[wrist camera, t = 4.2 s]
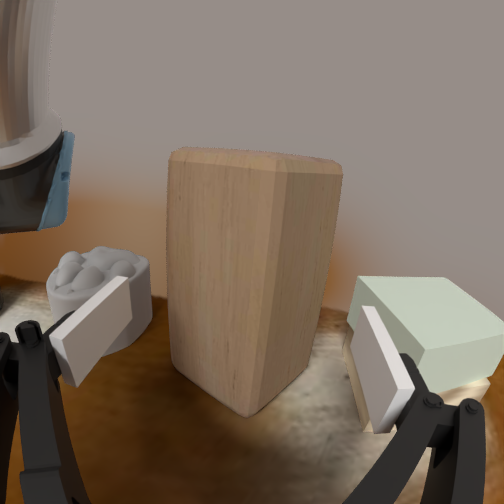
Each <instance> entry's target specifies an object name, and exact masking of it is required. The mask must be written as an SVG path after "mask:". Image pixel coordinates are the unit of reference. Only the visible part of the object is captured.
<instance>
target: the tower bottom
mask: <svg viewBox="0 0 504 504" xmlns="http://www.w3.org/2000/svg"><path fill="white" fill-rule="evenodd" d="M353 335H354V331H353V329H352V328H351V326H350V325H349V329H348V333H347V336H346V340H345V343H344V346H343V350H342V352H343V356H344V359H345V363H346V367H347V370H348V374H349V378H350V382H351V385H352V389H353V393H354V397H355V401H356V405H357V409H358V413H359V417H360V422H361V426H362V430H363V432H373V428H372V424H371V420H370V416H369V412H368V408H367V405H366V401H365V397H364V394H363V390H362V386H361V383H360V379H359V376H358V372H357V369H356V365H355V362H354V358H353V355H352V352H351V348H350V345H351V341H352V338H353ZM489 386H490V382H489V381H488V379H487V378H483V379H480V380H477V381H475V382H472V383H469V384H466V385H463V386H460V387H457V388H453V389H450V390H447V391H443V392H440V393H436V394H437V395H439V396H440V397H441V398H442V399H443V401H444V403H445V404H448V405H454V406H458V405H459V404H460V402H461V401H462V400H463V399H466V398H472V399H475V400H477V401H478V402H480V400H481V399H482V397H483V396H484V394H485V392H486V391H487V389H488V387H489ZM392 430H397V429H396V425H394V427H393V428H392Z"/></svg>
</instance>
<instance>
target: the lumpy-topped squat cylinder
mask: <svg viewBox="0 0 504 504" xmlns="http://www.w3.org/2000/svg"><path fill="white" fill-rule="evenodd" d="M116 276H122V277H128V279H129V290H130V301H131V310H132V320H131V321H130V322H129V323H128V324H127V326H126V327H125V328H124V329H123V330H122V332H121V333H120V334H119V335H118V337H117V338H116V339H115V340H114V342H113V343H112V344H111V345H110V347H109V348H108V349H107V350H106V352H105V353H104V354H103V355H102V356H105V355H109V354H111V353H114V352H116V351H119V350H121V349H123V348H126V347H128V346H129V345H131V344H132V343H133V342H134V341H135V340H136V339H137V338H138V337H139V336H140V335H141V334H142V333H143V331H144V330H145V329H146V328H147V326H148V324H149V323H150V321H151V320H152V316H153V315H152V302H151V287H150V271H149V261H148V260H147V259H146V258H145V257H143V256H140V255H135V254H134V253H133V252H131V251H129V250H122V249H112V248H109V247H104V246H98V247H96V248H94V249H93V250H92V251H90V252H86V253H83V254H79V253H78V252H76V251H71V252H68V253H66V254H65V255H64V256H63V257H62V258H61V260H60V262H59V265H58V267H57V268H55V269H54V270H53V272H52V273H51V274H50V276H49V278H48V280H47V283H46V288H47V294H48V299H49V303H50V308H51V312H52V316H53V320H54V324H55V323H56V322H57V321H58V320H60V319H61V318H62V317H63V316H64V315H65V314H67V313H69V312H71V311H73V310H75V311H77V310H78V309H79V308H80V307H81V306H82V305H83V304H84V303H86V302H87V301H88V300H89V299H90V298H91V297H93V296H94V295H95V294H96V293H97V292H98V291H100V290H101V289H102V288H103V287H104V286H105V285H107V284H108V283H109V282H110V281H111V280H113V279H114V278H115V277H116Z"/></svg>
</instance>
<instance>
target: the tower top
mask: <svg viewBox="0 0 504 504" xmlns="http://www.w3.org/2000/svg"><path fill="white" fill-rule="evenodd" d="M361 306H374V307H375V309H376V311H377V312H378V314H379V316H380V318H381V320H382V322H383V324H384V326H385V328H386V330H387V331H388V333H389V335H390V337H391V339H392V341H393V343H394V345H395V347H396V349H397V351H398V353H406V354H408V355H409V356H410V357H411V358H412V359H413V360H414V362H415V364H416V366H417V368H418V370H419V372H420V374H421V376H422V377H423V379H424V381H425V383H426V385H427V387H428V389H429V391H430V392H433V393H440V392H443V391H447V390H450V389H453V388H457V387H460V386H463V385H466V384H469V383H472V382H475V381H477V380H480V379H483V378H486V377H489V376H491V375H492V374H493V373H494V371H495V369H496V367H497V365H498V363H499V362H500V360H501V358H502V356H503V354H504V322H503V321H502V320H501V319H500V318H498V317H497V316H496V315H494V314H493V313H492V312H491V311H489V310H488V309H487V308H486V307H484V306H483V305H482V304H480V303H479V302H478V301H476V300H475V299H474V298H472V297H471V296H470V295H469V294H467V293H466V292H465V291H463V290H462V289H460V288H459V287H458V286H456V285H455V284H454V283H452V282H451V281H449V280H448V279H447V278H441V277H439V278H438V277H437V278H436V277H379V276H358V278H357V282H356V286H355V290H354V295H353V298H352V302H351V306H350V310H349V314H348V318H347V322H348V323H349V325H350V326H351V328H352V329H353V331H355V328H356V324H357V321H358V317H359V314H360V310H361Z"/></svg>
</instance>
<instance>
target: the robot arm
mask: <svg viewBox="0 0 504 504" xmlns="http://www.w3.org/2000/svg"><path fill="white" fill-rule="evenodd" d="M56 5H57V0H0V234H6V233H17V232H28V231H40V230H41V229H46V228H51V227H57V226H60V225H61V224H62V223H63V222H64V221H65V219H66V217H67V210H68V195H69V182H70V171H71V162H72V154H73V145H74V138H75V135H74V134H73V133H72V132H68V131H64V132H62V123H61V118H60V116H59V114H58V113H57V112H55V111H54V110H52V109H51V108H49V107H48V91H49V65H50V52H51V41H52V32H53V24H54V18H55V12H56ZM2 305H3V296H2V292H1V288H0V309H1V307H2ZM131 320H132V310H131V301H130V290H129V279H128V277H122V276H116V277H115V278H114V279H113V280H111V281H110V282H109V283H108V284H107V285H105V286H104V287H103V288H102V289H101V290H100V291H98V292H97V293H96V294H95V295H94V296H93V297H91V298H90V299H89V300H88V301H87V302H86V303H84V304H83V305H82V306H81V307H80V308H79V309H78V310H77V311H75V310H73V311H71V312H69V313H67V314H65V315H64V316H63V317H62V318H61V319H60V320H58V321H57V322H56V323H55V324H54V325H53V326H51V327H50V328H49V329H48V330H47V331H46V332H45V333H44V334H43V335H42V331H41V328H40V325H39V323H38V322H37V321H33V320H28V321H24V322H22V323H20V324H18V325H17V326H16V328H15V332H16V335H17V338H18V341H19V343H15V342H11V339H10V337H9V335H8V334H7V333H4V332H0V504H5V501H6V489H7V477H8V468H9V460H10V453H11V446H12V440H13V435H14V430H15V425H16V420H17V415H18V411H19V422H20V435H21V444H22V453H23V460H24V467H25V470H24V471H22V472H20V484H21V489H22V494H23V499H24V503H25V504H91V502H90V500H89V498H88V496H87V493H86V490H85V487H84V484H83V481H82V478H81V475H80V472H79V469H78V466H77V462H76V459H75V455H74V452H73V448H72V444H71V440H70V436H69V432H68V427H67V423H66V418H65V413H64V408H63V403H62V397H61V391H60V384H59V381H58V379H57V378H58V377H59V376H60V375H61V374H62V377H63V379H64V382H65V383H67V384H69V385H72V386H74V387H78V386H79V385H80V383H81V382H82V381H83V380H84V378H85V377H86V376H87V374H88V373H89V372H90V371H91V369H92V368H93V367H94V365H95V364H96V363H97V362H98V360H99V359H100V358H101V357H102V355H103V354H104V353H105V352H106V350H107V349H108V348H109V347H110V345H111V344H112V343H113V342H114V340H115V339H116V338H117V337H118V335H119V334H120V333H121V332H122V330H123V329H124V328H125V327H126V326H127V324H128V323H129V322H130V321H131ZM350 348H351V352H352V355H353V358H354V362H355V365H356V369H357V372H358V376H359V379H360V383H361V386H362V390H363V394H364V397H365V401H366V405H367V408H368V412H369V416H370V420H371V424H372V428H373V432H374V434H380V433H390V431H391V430H392V428H393V427H394V425H396V429H397V432H396V434H395V435H394V437H393V438H392V440H391V441H390V443H389V444H388V446H387V447H386V449H385V450H384V452H383V453H382V454H381V456H380V457H379V459H378V460H377V461H376V463H375V464H374V465H373V467H372V468H371V469H370V471H369V472H368V473H367V475H366V476H365V477H364V478H363V480H362V481H361V482H360V483H359V485H358V486H357V487H356V488H355V489H354V491H353V492H352V493H351V494H350V495H349V497H348V498H347V499H346V500H345V501H344V502H343V503H342V504H394V502H395V501H396V499H397V498H398V496H399V494H400V493H401V491H402V490H403V488H404V487H405V485H406V483H407V482H408V480H409V478H410V476H411V475H412V473H413V471H414V469H415V468H416V466H417V464H418V462H419V460H420V459H421V457H422V455H423V453H424V451H425V449H426V447H431V448H432V452H431V457H430V463H429V468H428V473H427V478H426V482H425V486H424V491H423V495H422V499H421V502H420V504H483V496H484V484H485V461H486V439H485V416H484V409H483V406H482V405H481V403H479V402H478V401H477V400H475V399H472V398H466V399H463V400H462V401H461V402H460V404H459V405H458V406H454V405H448V404H445V403H444V401H443V399H442V398H441V397H440V396H439V395H437V394H436V393H433V392H430V391H429V389H428V387H427V385H426V383H425V381H424V379H423V377H422V376H421V374H420V372H419V370H418V368H417V366H416V364H415V362H414V360H413V359H412V358H411V357H410V356H409V355H408V354H406V353H398V351H397V349H396V347H395V345H394V343H393V341H392V339H391V337H390V335H389V333H388V331H387V330H386V328H385V326H384V324H383V322H382V320H381V318H380V316H379V314H378V312H377V311H376V309H375V307H374V306H361V310H360V314H359V317H358V321H357V324H356V328H355V331H354V335H353V338H352V341H351V345H350Z"/></svg>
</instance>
